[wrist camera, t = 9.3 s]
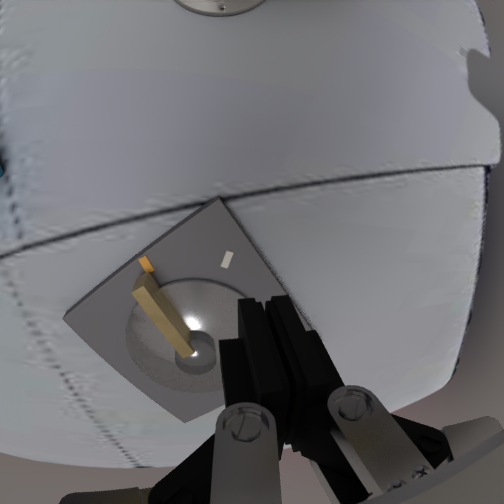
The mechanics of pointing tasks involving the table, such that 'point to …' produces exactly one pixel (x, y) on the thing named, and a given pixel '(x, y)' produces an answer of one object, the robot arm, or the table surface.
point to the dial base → (167, 270)
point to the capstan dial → (181, 331)
